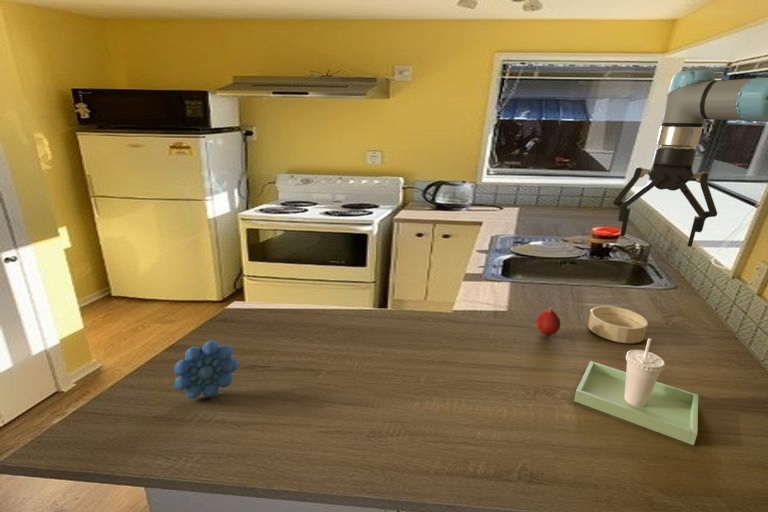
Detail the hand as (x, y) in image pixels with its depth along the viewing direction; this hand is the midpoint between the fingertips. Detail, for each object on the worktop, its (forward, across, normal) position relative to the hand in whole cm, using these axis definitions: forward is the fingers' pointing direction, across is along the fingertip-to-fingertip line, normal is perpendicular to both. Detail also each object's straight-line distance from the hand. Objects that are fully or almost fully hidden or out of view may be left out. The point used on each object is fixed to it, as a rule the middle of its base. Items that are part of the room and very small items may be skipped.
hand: (654, 240), depth 100 cm
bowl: (+26, +4, -2) cm, 27 cm away
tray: (+27, -4, +29) cm, 39 cm away
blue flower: (+27, +64, +78) cm, 104 cm away
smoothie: (+26, -4, +29) cm, 39 cm away
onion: (+27, +18, +12) cm, 34 cm away
